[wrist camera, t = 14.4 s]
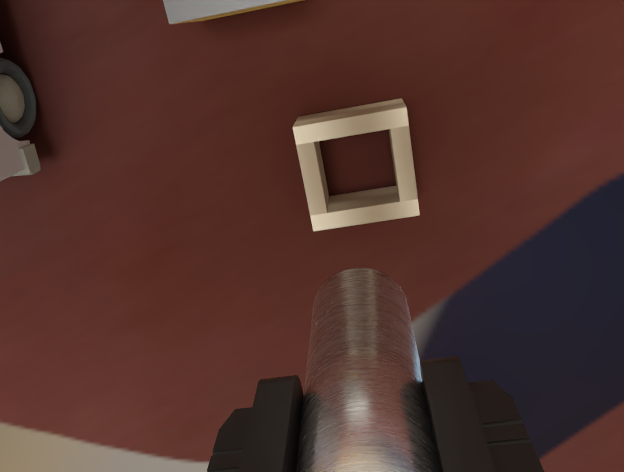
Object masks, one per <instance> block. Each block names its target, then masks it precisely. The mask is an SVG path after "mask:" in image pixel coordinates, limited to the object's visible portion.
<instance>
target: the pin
mask: <svg viewBox="0 0 624 472" xmlns="http://www.w3.org/2000/svg"><path fill="white" fill-rule="evenodd" d="M296 472H441V471H440V466H439V461H438V457H437V452H436V447H435V442H434V437H433V432H432V428H431V423H430V418H429V413H428V408H427V403H426V398H425V394H424V389H423V384H422V377H421V370H420V361H419V357H418V351H417V347H416V342H415V337H414V332H413V328H412V323H411V318H410V313H409V309H408V304H407V299H406V296H405V294H404V292H403V290H402V288H401V287H400V286H399V284H398V283H397V282H396V281H395V280H394V279H392V278H391V277H390V276H388V275H386V274H385V273H382V272H380V271H377V270H374V269H369V268H352V269H347V270H344V271H341V272H339V273H337V274H335V275H333V276H331V277H330V278H329V279H327V280H326V281H325V282H324V283H323V284H322V286H321V287H320V288H319V290H318V292H317V294H316V296H315V299H314V303H313V311H312V321H311V330H310V340H309V349H308V359H307V368H306V377H305V387H304V398H303V407H302V417H301V426H300V436H299V445H298V455H297V464H296Z"/></svg>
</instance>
